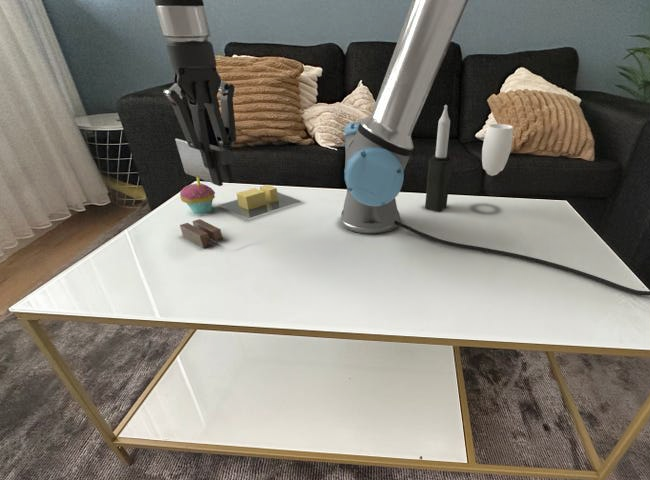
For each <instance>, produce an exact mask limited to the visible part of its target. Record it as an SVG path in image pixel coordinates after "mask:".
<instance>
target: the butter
mask: <svg viewBox="0 0 650 480" xmlns="http://www.w3.org/2000/svg"><path fill="white" fill-rule="evenodd" d="M235 193H236V200H238V204H239V206H240V207H242V208H245V209H247V210H251V209H254V208H257V207H261V206H264V205H267V203H266V197H265V192H264V191H261V190H260V188H259V189H258V188H256V187H253V188H249V189H246V190H242V191H239V192H235Z"/></svg>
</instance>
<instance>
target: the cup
mask: <svg viewBox="0 0 650 480" xmlns="http://www.w3.org/2000/svg"><path fill="white" fill-rule="evenodd" d="M513 136H514V126H513V125H510V124H505V123H490V124H488V125H487V128H486V131H485V134H484V137H483V143H482V148H481V164H482V169H483V170H484V171H485V172H486V174H487V175H488V176H490V177H493V176H497V175H498V174H500V172H502V171H503V170H504V169H505V167H506V165H507V163H508V160H509V157H510V154H511V151H512V145H513V139H514V138H513Z"/></svg>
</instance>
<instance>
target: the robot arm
mask: <svg viewBox="0 0 650 480" xmlns="http://www.w3.org/2000/svg"><path fill="white" fill-rule="evenodd" d="M153 2H154V5H155V9H156V13H157V16H158V21H159V24H160V27H161V32H162V35H163V36H164V37H165V38H167V40H168V41H166V43H165V47H166V50H167V54H168V57H169V61H170V65H171V67H172V69H173V73H174V74H173V83H174V84H172V86H170V87H169V88H164V89H163V93H162V94H163V96H164V97H165V98H166V100H167V101H168V102H169V103H170V105H171V106H172V109H173V112H174V114H175V116H176V119H177V121H178V124H179V126H180V128H181V131H182V133H183V136H184V139H185V141H187V143H188V145H189V147H191V148H194V149H197V150H199V151H200V152H201V156H202V160H203V164H204V166H205V168H208V169H209V172H210V176H211V180H212V183H211V184H213V185H215V186H218V187H221V186H224V183H223V182H226V183H228V184H233V183H234V179H233V174H232V169H231V166H230V165H232V164H233V162H232V163H231V164H227V165H224V164H221V163H217V160H216V155H215V151H213V150H210V145H211V144H210V139H209V133H208V127H207V121H206V115H205V110H206V111H207V115H208V118H209V121H210V124H211V127H212V130H213V133H214V136H215V140H216V143H217V147H221V148H224V149H227V150H230V148H232V145H233V143H236V142H237V131H236V130H237V129H236V119H235V108H234V94H235V90H236V89H235V86H234V84H233V83H228V82H226V81H224V80H223V79H222V78H221V76H220V74H219V73H218V70H217V60H216V54H215V51H214V45H213V43H211V41H209V38H210V37H211V31H210V25H209V23H208V18H207V13H206V9H205V4H204V1H203V0H153ZM468 2H469V0H412V1H411V3H410V6H409V9H408V11H407V15H406V17H405V20H404V22H403V26H402V28H401V31H400V34H399V37H398V39H397V42H396V45H395V48H394V51H393V54H392V56H391V59H390V62H389V64H388V67H387V70H386V73H385V75H384V77H383V81H382V83H381V86H380V90H379V92H378V95H377V98H376V101H375V103H374V105H373V109H372V112H371V114H370V115H369V116H366V117H364V118H362V119H361V120H360V121H354V122H353V121H351V122H348V123H346V125H345V127H344V134H343V139H344V147H345V148H344V149H345V151H344V153H345V156H344V157H345V161H344V170H343V173H344V174H343V179H344V182H345V185H346V195H345V199H344V203H343V208H342V210H341V212H340V213H341V214H340V220H341V221H340V223H341V225H342V227H343V228H345V229H347V231H350V232H354V233H357V234H364V235H365V234H367V235H375V234H383V233H384V234H385V233H388V232H391V231H393V230H395V229H397V228H398V227H400V228H403V229H405V230H407V231H409V232H412V233H413V234H416V235H418V236H421V237H423V238H425V239H428V240H431V241H433V242H436V243H439V244H443V245H447V246H451V247H455V248H461V249H466V250H472V251H478V252H484V253H488V254H494V255H499V256H505V257H511V258H515V259H520V260H524V261H527V262H531V263H532V262H533V263H536V264H541V265H544V266H547V267H550V268H554V269H557V270H561V271H564V272H568V273H571V274H574V275H577V276H581V277H583V278H586V279H589V280H592V281H595V282H598V283H601V284H604V285H605V286H609V287H611V288H614V289H617V290H619V291H622V292H626V293H629V294H631V295H636V296H647V297H650V290H639V289H634V288H632V287H631V288H630V287H627V286H625V285H621V284H619V283H616V282H614V281H611V280H607V279H605V278H602V277H599V276H596V275H594V274H591V273H587V272H585V271H581V270H578V269H576V268H572V267H569V266H566V265H562V264H559V263H555V262H552V261H548V260H544V259H541V258H536V257H532V256H528V255H523V254H520V253H514V252H510V251H506V250H505V251H504V250H499V249H494V248H488V247H484V246H477V245H471V244H466V243H465V244H464V243H459V242H453V241H450V240H447V239H442V238H439V237H436V236H433V235H430V234H427V233H425V232H423V231H420V230H418V229H416V228H414V227H412V226H409V225H407V224H405V223H402V222H400V221H401V216H400V211H399V210H398V205H397V201H396V197H397V196H398V195H399V194H400V192H401V190H402V187H403V183H404V180H405V179H404V177H405V172H404V171H405V169H406V166H407V164H408V162H409V160H410V157H411V155H412V153H413V150H414V148H415V147H414V143H413V140H412V139H413V138H412V133H413V131H414V129H415V126H416V124H417V121H418V119H419V116H420V115H421V112H422V110H423V108H424V105H425V103H426V101H427V98H428V96H429V94H430V91H431V89H432V86H433V84H434V81H435V79H436V77H437V75H438V73H439V70H440V68H441V66H442V63H443V61H444V58H445V56H446V53H447V51H448V49H449V47H450V44H451V42H452V40H453V37H454V35H455V32H456V30H457V28H458V25H459V23H460V21H461V19H462V16H463V13H464V12H465V9H466V7H467V4H468ZM219 93H220V94H219ZM218 94H219V97H218ZM183 96H184V97H185V98H186V99H187V104H188V107H189V109H190V113H191V117H190V115H189V112H188V110H187V106H186V105H185V103H184V101H183ZM219 101H220V102H219ZM191 118H192V120H191Z"/></svg>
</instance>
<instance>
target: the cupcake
mask: <svg viewBox="0 0 650 480" xmlns="http://www.w3.org/2000/svg"><path fill="white" fill-rule="evenodd" d="M215 194H216V191H215V190H213V188H212V187H210V186H209V185H206V184H203V183H201V179H200V178H197V177H196V183H193V184H192V183H191V184H188V185H185V186H183V188H182V189H180V193H179V198H180V201H181V202H183V203H186V204H187V206H188V207H189V209H190V210H191V212H192V213H194V214H206V213H209V212H211V211H212V210H213V200H214V199H215V198H216V196H215Z"/></svg>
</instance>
